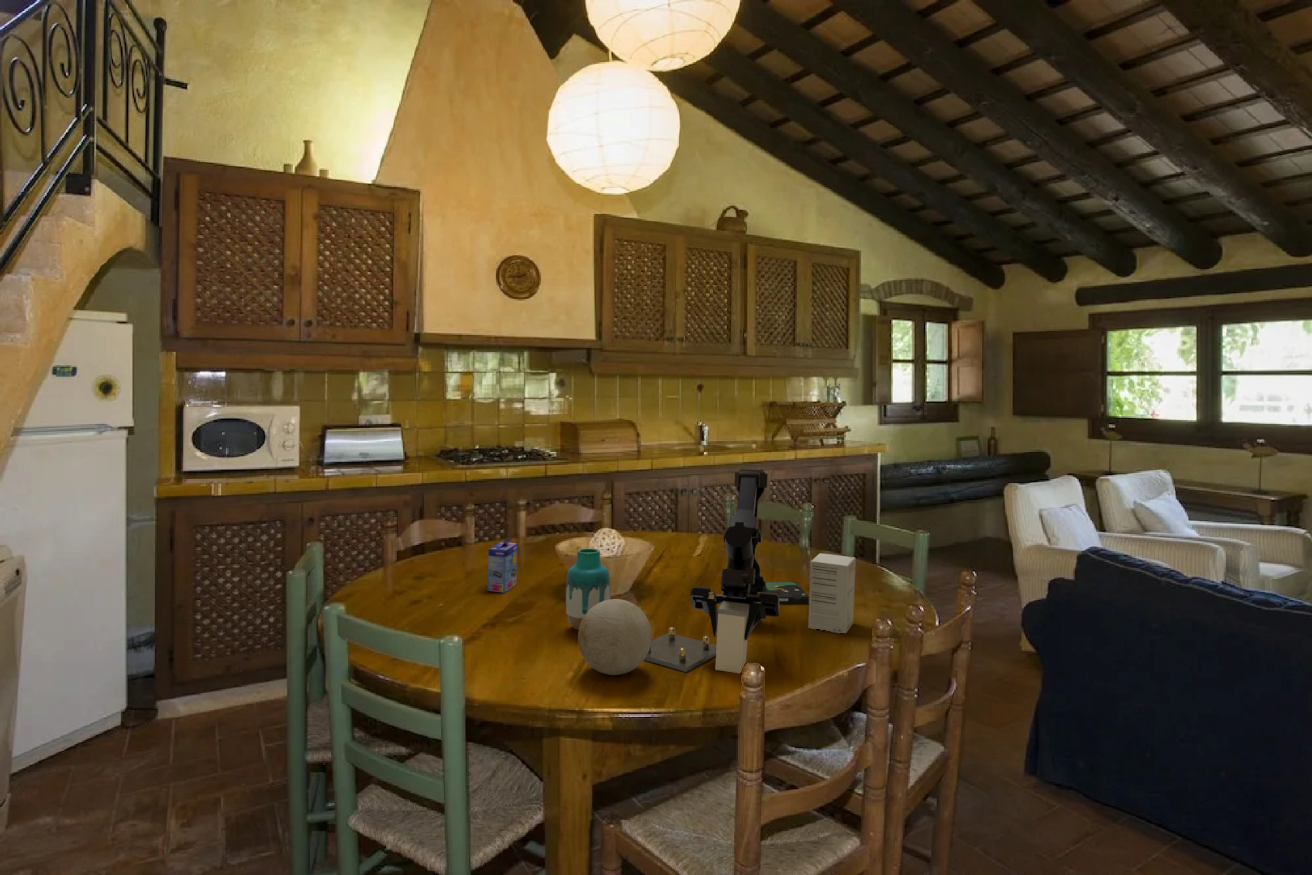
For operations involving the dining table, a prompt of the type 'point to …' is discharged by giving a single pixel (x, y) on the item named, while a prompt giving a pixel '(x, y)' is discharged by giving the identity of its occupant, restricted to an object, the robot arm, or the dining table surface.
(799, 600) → the disk drive
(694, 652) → the plate
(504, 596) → the dining table surface
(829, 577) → the supplement box
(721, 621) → the module box
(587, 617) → the decorative sphere
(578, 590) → the vase
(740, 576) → the robot arm
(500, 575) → the ink cartridge box
